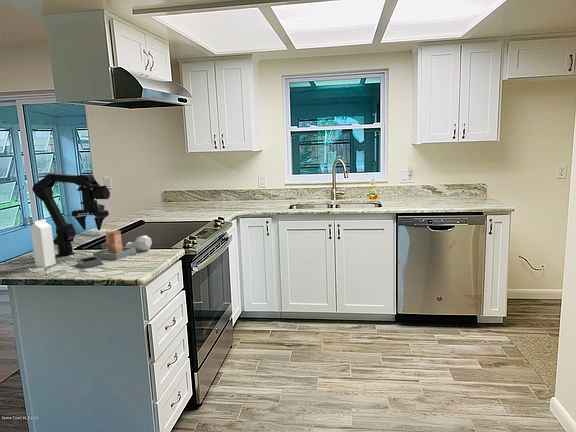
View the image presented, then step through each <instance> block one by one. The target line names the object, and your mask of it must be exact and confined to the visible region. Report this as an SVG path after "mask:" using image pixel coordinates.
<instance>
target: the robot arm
mask: <svg viewBox="0 0 576 432" xmlns="http://www.w3.org/2000/svg"><path fill="white" fill-rule="evenodd" d="M56 183H68V184H69V183H70V184H75V185H77V186H78V188H77V189H76V191H77V192H81V201H80V205H82V209H80V208H79V209H75V210H72V211H71V217H73V218H74V219H75V220H76V221H77V223H78V224H79V225H80V227H81V228H82V230H84V231H85V230H87V228H86V227H87V224H86V218H87V217H88V216H94V217H93V220H94V223H95V226H96V228H97V230H98V232H99V231H101V228H102V225H103V221H104V220H105V219H106V218H107V217H108V216H110V214H109V211H108V210H107V209H105V208H106V207H105V205H104V204H101V203H98V200H108V199H110V198H111V197H110V196H111V191H110V190H109V188H108V186H107V185H101V184H99V182H98V181H97V180H96V178H95V176H94V175H93V174H91V173H88V174H87V173H86V174H78V175H77V174H74V175H73V174H67V173H66V174H65V173H64V174H63V173H62V174H61V173H56V172H53V173H47V174H46V175H45V176H44V177H43V178H41V179H40V180H38V181H37V182H36V183H34V184H33V186H32V189H31V190H32V192H33V193H34V195H35V196H36V198H38V199H39V200H41V201H42V202H43V204H44V207H45V208H46V210H47V212H48V213H49V216H50V218H51V219H52V221H53V223H54V224H55V234H56V237H55V238H53V245H54V246H56V247H57V254H55V257H57V256H58V257H68V256H72V255H73V254H76V252H74V251H73V245H72V242H74V239H75V237H76V236H77V235H76V234H77V233H76V229H75V227H74V225H73V223H68V222H67V221H66V220H65V217H64V216H63V214H62V212H61V210H60V208H59V207H58V204H57V203H56V200H55V199H54V189H53V187H54V186H55V184H56Z"/></svg>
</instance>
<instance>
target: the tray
mask: <svg viewBox="0 0 576 432" xmlns="http://www.w3.org/2000/svg"><path fill="white" fill-rule="evenodd" d="M122 251H123V252H120V253H117V254H112V253H107V248H104V249H101V250H98V251H94V252H93V253H92V255H93V256H95V257H97V258H100V259H101V260H111V261H114V260H115V261H118V260H121V259H124V258H126V257H129V256H130V257H133V256H136V255H137V248H136V247H126V246H122ZM135 254H136V255H135ZM132 255H133V256H132ZM93 256H92V257H93Z"/></svg>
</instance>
